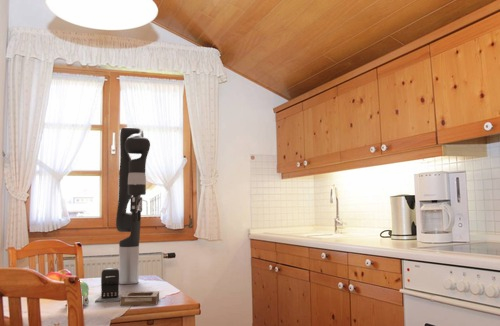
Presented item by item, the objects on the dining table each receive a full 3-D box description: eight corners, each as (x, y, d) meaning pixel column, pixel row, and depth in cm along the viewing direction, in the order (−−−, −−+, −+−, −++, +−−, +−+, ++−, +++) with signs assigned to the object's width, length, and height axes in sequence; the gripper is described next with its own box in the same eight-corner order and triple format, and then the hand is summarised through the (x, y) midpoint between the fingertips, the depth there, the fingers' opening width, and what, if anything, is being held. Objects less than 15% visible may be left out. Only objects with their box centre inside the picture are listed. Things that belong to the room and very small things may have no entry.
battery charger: (100, 299, 178) (101, 269, 179) (100, 297, 182) (101, 268, 183) (118, 298, 180) (119, 268, 181) (119, 296, 183) (119, 267, 184)
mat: (101, 297, 185) (101, 295, 185) (123, 296, 185) (123, 295, 185) (95, 302, 176) (95, 300, 176) (118, 301, 176) (118, 300, 176)
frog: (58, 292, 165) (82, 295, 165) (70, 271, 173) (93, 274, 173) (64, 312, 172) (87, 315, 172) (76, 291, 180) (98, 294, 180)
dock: (126, 299, 180) (126, 291, 180) (159, 299, 181) (159, 291, 181) (120, 305, 170) (120, 297, 170) (155, 304, 171) (155, 296, 171)
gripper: (131, 184, 202) (130, 221, 200) (124, 183, 188) (123, 222, 186) (148, 184, 202) (147, 221, 201) (142, 183, 188) (142, 222, 187)
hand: (136, 221), depth 194 cm, fingers open, 8 cm apart
